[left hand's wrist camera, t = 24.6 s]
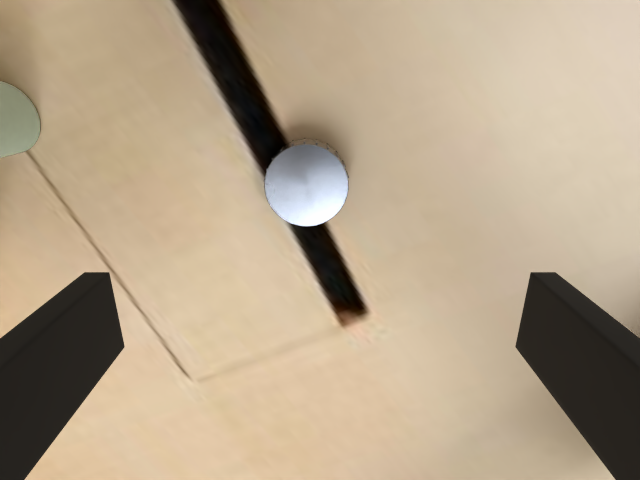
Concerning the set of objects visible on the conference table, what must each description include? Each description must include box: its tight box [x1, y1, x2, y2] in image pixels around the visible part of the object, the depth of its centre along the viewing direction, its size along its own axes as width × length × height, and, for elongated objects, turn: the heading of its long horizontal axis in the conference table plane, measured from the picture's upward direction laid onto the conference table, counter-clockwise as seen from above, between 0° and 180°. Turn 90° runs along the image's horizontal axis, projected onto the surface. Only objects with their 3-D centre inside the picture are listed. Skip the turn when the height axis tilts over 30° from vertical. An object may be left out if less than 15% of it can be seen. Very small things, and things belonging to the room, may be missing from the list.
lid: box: [264, 138, 349, 226], centre depth 26 cm, size 5×5×2 cm
